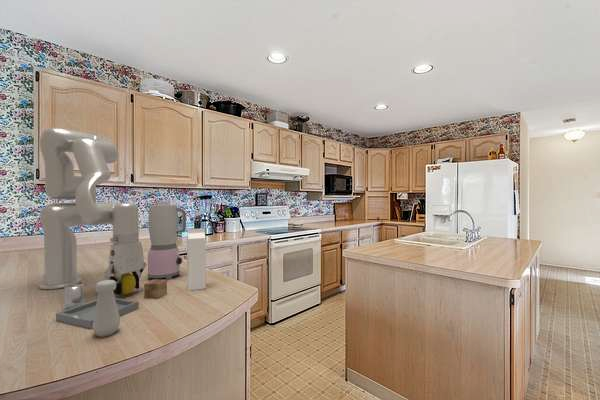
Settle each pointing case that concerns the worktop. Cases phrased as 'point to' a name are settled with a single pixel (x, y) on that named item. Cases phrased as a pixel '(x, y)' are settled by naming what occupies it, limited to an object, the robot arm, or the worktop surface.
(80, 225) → the robot arm
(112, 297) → the salt shaker
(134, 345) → the worktop surface
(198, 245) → the milk
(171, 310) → the worktop surface
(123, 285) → the lemon
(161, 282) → the walnut block
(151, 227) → the blender
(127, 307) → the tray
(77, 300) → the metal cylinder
